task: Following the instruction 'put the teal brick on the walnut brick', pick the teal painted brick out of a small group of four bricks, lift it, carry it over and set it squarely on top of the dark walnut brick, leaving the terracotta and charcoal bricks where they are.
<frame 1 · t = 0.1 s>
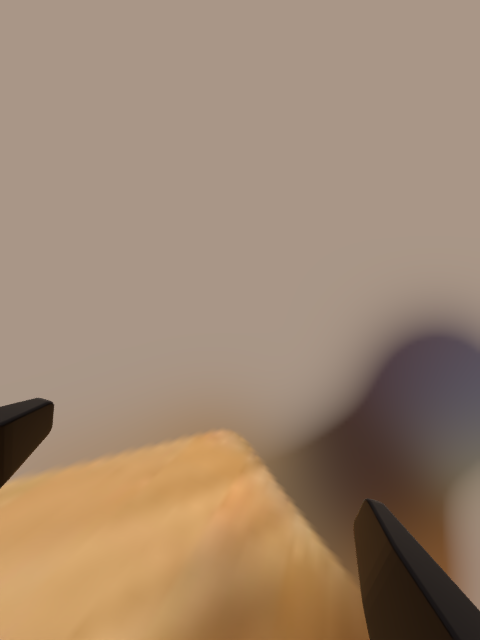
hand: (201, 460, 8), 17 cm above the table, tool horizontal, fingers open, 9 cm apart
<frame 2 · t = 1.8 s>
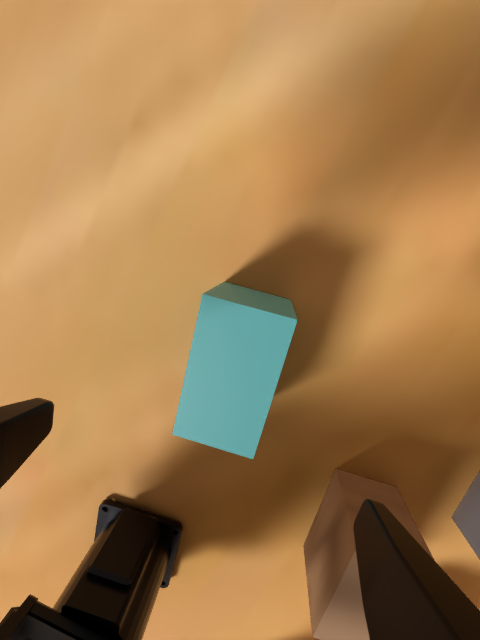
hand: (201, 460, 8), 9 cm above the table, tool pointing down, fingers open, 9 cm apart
teal brick: (242, 345, 17), on the table
walnut brick: (346, 516, 19), on the table
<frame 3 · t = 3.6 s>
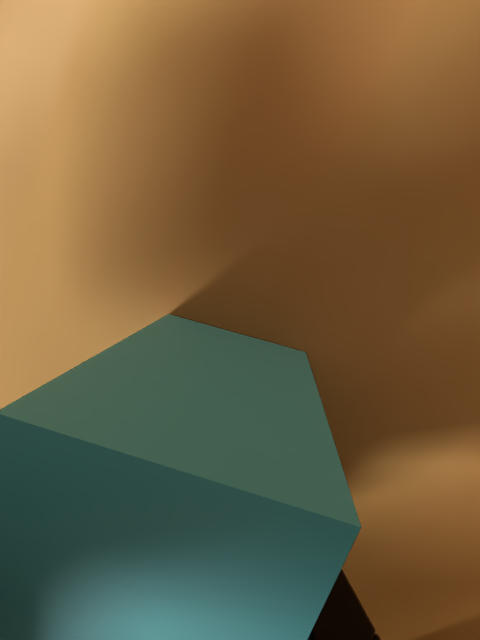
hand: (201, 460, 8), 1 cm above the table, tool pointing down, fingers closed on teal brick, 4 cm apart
teal brick: (209, 435, 9), on the table, touching gripper
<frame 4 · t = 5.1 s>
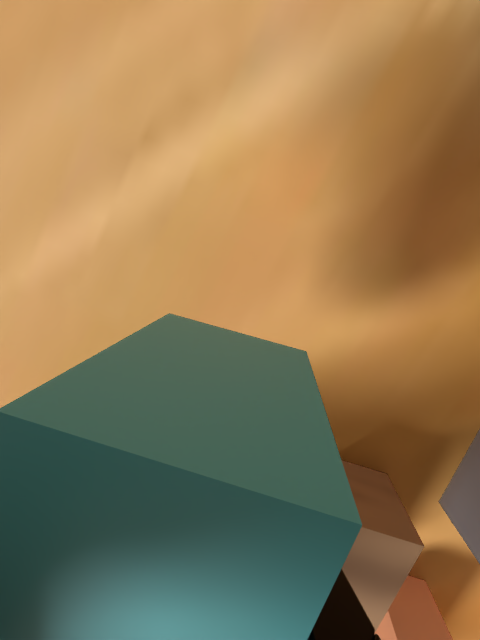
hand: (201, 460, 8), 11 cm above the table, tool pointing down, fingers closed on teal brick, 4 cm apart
teal brick: (210, 435, 9), point 10 cm above the table, touching gripper
walnut brick: (341, 502, 20), on the table
terracotta brick: (381, 601, 22), on the table
when the fingers open (7 cm above the table, at t = 7.0 s): teal brick drops 2 cm, resting on walnut brick.
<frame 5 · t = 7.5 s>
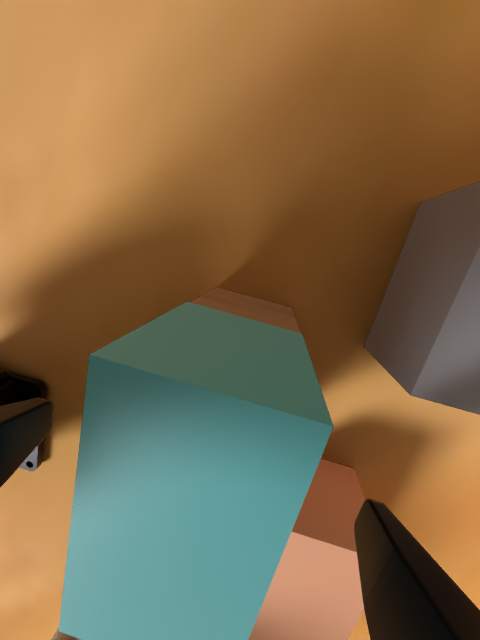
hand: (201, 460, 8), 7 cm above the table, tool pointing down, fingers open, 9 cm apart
teal brick: (220, 406, 10), point 5 cm above the table, touching walnut brick
charcoal brick: (431, 290, 13), on the table
walnut brick: (237, 358, 15), on the table, touching teal brick
terracotta brick: (301, 503, 17), on the table
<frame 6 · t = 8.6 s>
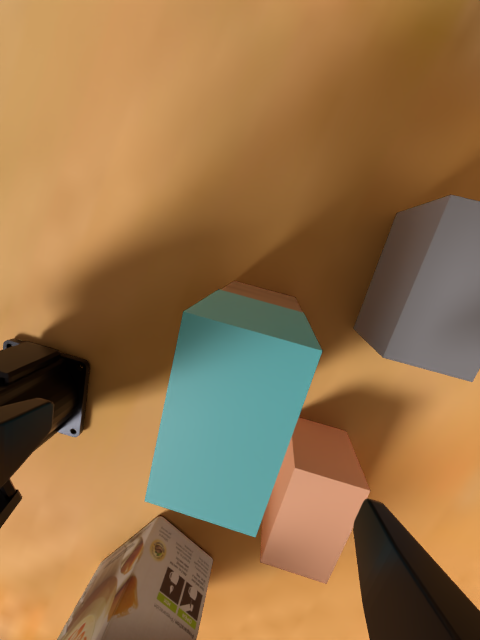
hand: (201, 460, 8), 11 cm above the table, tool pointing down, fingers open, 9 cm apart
teal brick: (241, 369, 13), point 5 cm above the table, touching walnut brick
charcoal brick: (406, 282, 16), on the table
walnut brick: (250, 339, 18), on the table, touching teal brick
coffee box: (155, 557, 24), on the table
terracotta brick: (302, 462, 20), on the table
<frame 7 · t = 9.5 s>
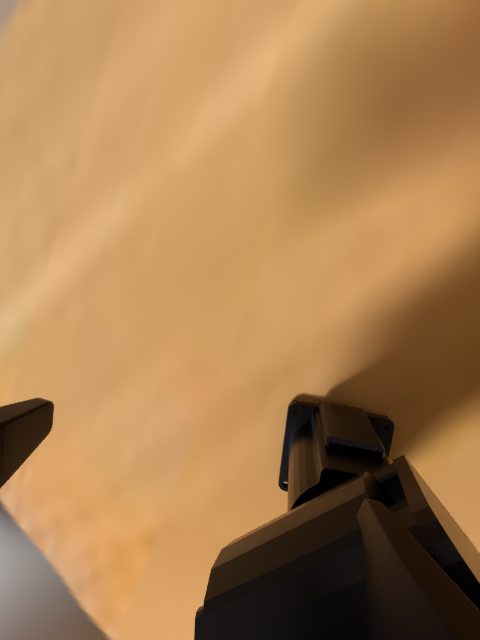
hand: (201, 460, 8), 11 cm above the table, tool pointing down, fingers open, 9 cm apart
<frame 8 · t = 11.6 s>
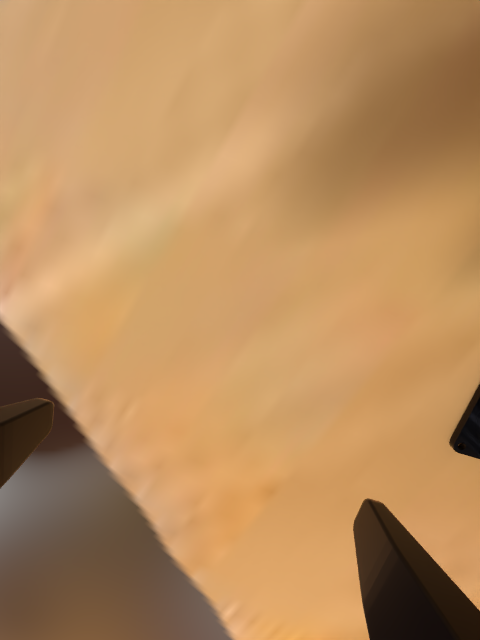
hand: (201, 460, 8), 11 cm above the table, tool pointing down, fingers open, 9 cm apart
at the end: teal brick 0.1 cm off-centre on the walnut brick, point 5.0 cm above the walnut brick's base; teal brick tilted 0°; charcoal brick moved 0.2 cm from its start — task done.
